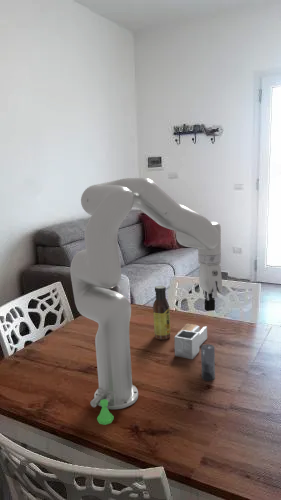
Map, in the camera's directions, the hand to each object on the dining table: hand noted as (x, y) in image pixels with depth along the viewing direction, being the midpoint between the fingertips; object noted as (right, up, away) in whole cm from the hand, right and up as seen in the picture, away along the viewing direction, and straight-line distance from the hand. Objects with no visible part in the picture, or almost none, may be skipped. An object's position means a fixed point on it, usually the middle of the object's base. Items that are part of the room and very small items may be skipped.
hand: (209, 309), depth 140 cm
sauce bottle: (-16, -13, +14) cm, 24 cm away
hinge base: (-6, -14, +5) cm, 16 cm away
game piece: (-33, -24, -34) cm, 53 cm away
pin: (-3, -18, -16) cm, 25 cm away
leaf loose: (-2, -13, +7) cm, 15 cm away
